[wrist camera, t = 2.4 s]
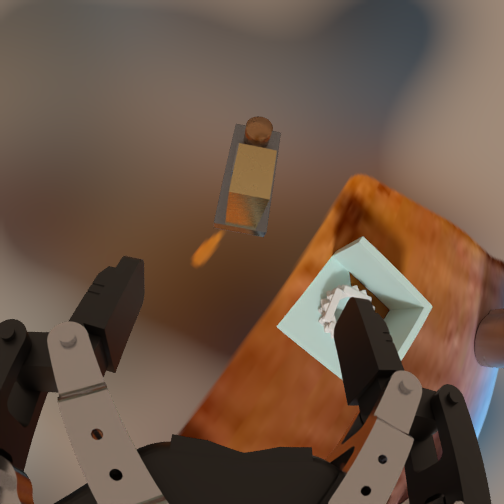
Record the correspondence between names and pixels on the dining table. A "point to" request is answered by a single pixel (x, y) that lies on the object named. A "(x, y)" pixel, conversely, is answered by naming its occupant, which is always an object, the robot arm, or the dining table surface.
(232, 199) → the lever cap
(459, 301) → the dining table surface
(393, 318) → the right angle wall
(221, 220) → the body
